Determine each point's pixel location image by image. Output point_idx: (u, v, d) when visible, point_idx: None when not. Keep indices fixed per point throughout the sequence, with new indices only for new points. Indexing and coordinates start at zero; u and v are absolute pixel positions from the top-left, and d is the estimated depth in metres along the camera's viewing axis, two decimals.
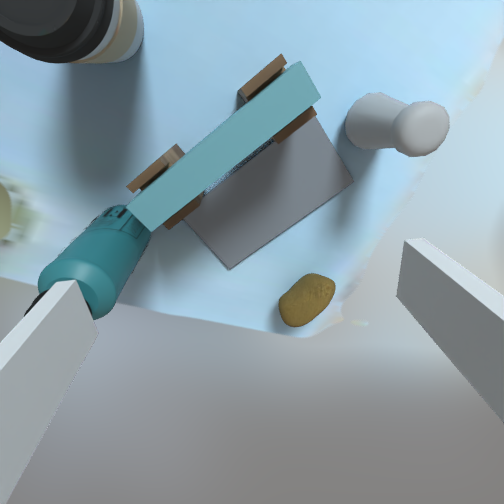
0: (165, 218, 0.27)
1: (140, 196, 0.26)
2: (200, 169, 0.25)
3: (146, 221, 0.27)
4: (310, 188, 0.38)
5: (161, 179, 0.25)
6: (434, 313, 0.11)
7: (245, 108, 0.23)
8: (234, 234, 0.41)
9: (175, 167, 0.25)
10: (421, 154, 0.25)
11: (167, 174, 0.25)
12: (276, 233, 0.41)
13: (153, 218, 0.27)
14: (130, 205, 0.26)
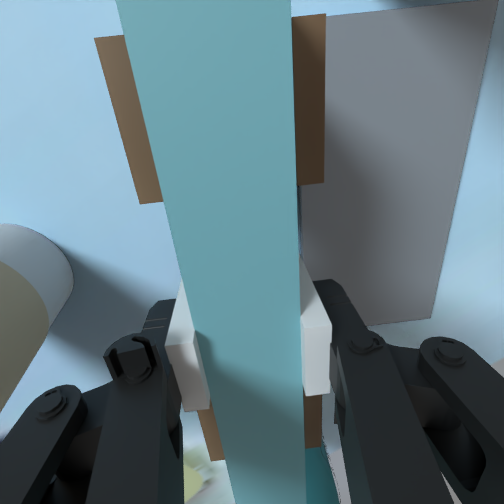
0: (301, 480, 0.12)
1: (236, 492, 0.13)
2: (257, 400, 0.10)
3: (283, 501, 0.13)
4: (429, 112, 0.17)
5: (229, 459, 0.11)
6: None
7: (179, 248, 0.07)
8: (389, 283, 0.22)
9: (222, 433, 0.11)
10: None
11: (226, 448, 0.11)
12: (446, 220, 0.20)
13: (288, 492, 0.13)
14: None
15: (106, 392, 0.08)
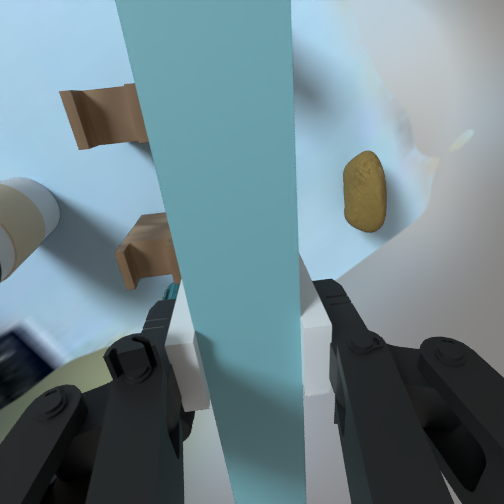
0: (301, 481, 0.12)
1: (235, 493, 0.12)
2: (257, 400, 0.10)
3: (283, 502, 0.13)
4: None
5: (229, 459, 0.11)
6: None
7: (178, 248, 0.07)
8: None
9: (222, 433, 0.11)
10: None
11: (226, 449, 0.11)
12: None
13: (288, 493, 0.13)
14: None
15: (106, 392, 0.08)
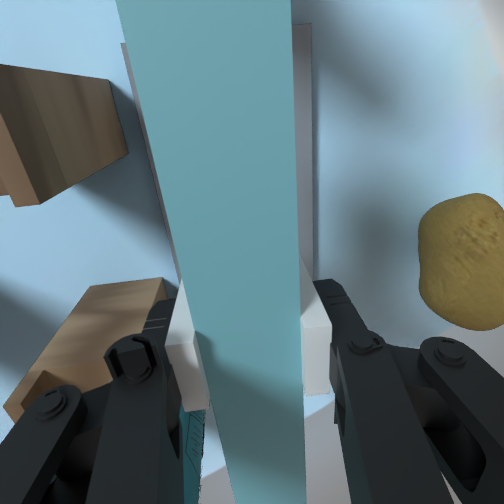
0: (301, 481, 0.12)
1: (236, 493, 0.12)
2: (258, 400, 0.10)
3: (283, 501, 0.13)
4: None
5: (229, 459, 0.11)
6: None
7: (179, 248, 0.07)
8: None
9: (222, 433, 0.11)
10: None
11: (226, 448, 0.11)
12: (308, 229, 0.21)
13: (288, 493, 0.13)
14: None
15: (106, 392, 0.08)
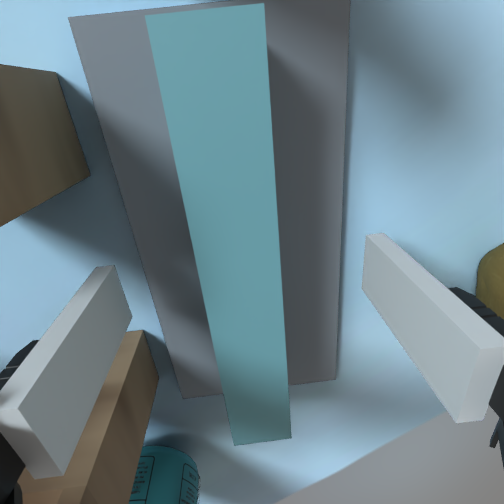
0: (286, 415, 0.15)
1: (232, 425, 0.15)
2: (248, 338, 0.13)
3: (272, 435, 0.16)
4: (283, 140, 0.13)
5: (226, 392, 0.14)
6: (388, 303, 0.11)
7: (188, 209, 0.10)
8: None
9: (221, 368, 0.13)
10: None
11: (224, 382, 0.14)
12: (333, 271, 0.16)
13: (275, 427, 0.15)
14: (236, 440, 0.16)
15: None
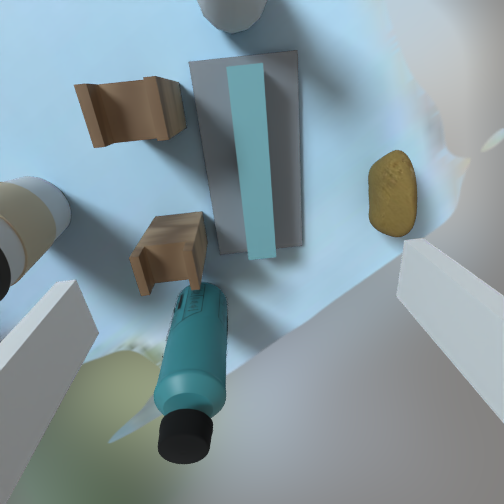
0: (273, 241, 0.32)
1: (248, 246, 0.32)
2: (256, 195, 0.30)
3: (267, 254, 0.33)
4: (271, 111, 0.30)
5: (246, 225, 0.31)
6: (434, 314, 0.11)
7: (235, 133, 0.27)
8: None
9: (244, 210, 0.30)
10: None
11: (245, 219, 0.31)
12: (297, 178, 0.33)
13: (268, 248, 0.33)
14: (249, 256, 0.33)
15: None
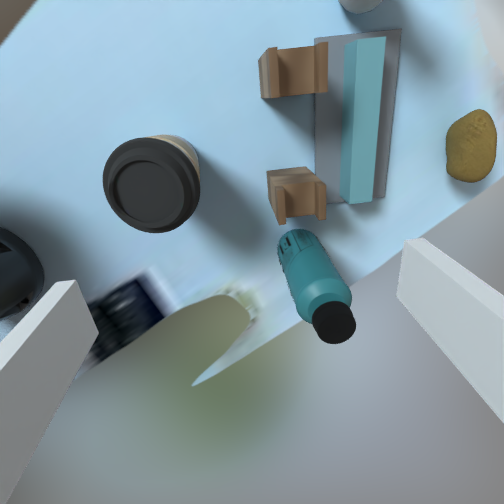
0: (371, 187, 0.39)
1: (350, 191, 0.39)
2: (364, 146, 0.37)
3: (364, 199, 0.40)
4: None
5: (352, 173, 0.38)
6: (433, 314, 0.11)
7: (355, 94, 0.34)
8: None
9: (352, 160, 0.38)
10: None
11: (352, 167, 0.38)
12: (388, 136, 0.41)
13: (366, 194, 0.40)
14: (350, 201, 0.40)
15: None
